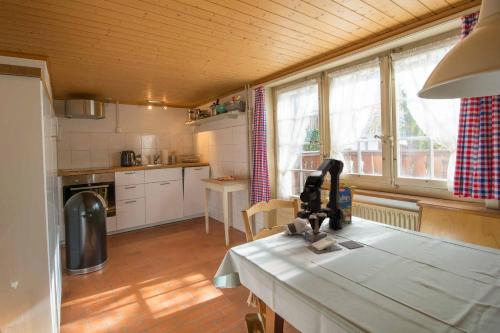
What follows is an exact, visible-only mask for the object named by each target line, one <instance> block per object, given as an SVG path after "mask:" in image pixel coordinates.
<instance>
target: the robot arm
mask: <svg viewBox="0 0 500 333" xmlns="http://www.w3.org/2000/svg"><path fill="white" fill-rule="evenodd" d="M344 166H345V165H344V162H343V161H342V159H341V160H340V159H335V158H333V157H332V158H331V157H326V158H324V159H323V162H322V163H320V165H319V167H318V168H317V169H316V170H315V171H314V172H312V173H310V174H309V175H308V176H307V177H306V180H305V184H304V186H303V189H302V190H303V191H301V192H300V194H299V200H300V201H301V203H300V209H301V210H299V211H297V213H296V217H297V218H301V219H306V220H308V223H309V225H310V227H311V228H312V230H314V228H315V218H318V221H319V230H321V227H322V225H323V223H324V221H325V220H326V219H328V226H327V228H328V229H330V230H333V231H339V230H344V227H343V226H342V225H343V224H342V219H344V213H343V211H342V208H341V204H340V203H339V183H340V177H341V175H342V173H343V170H344ZM327 173H329V175H330V181H329V182H330V186H329V192H330V201H329V200H328V203H326V204H325V205H326V206H325V207H322V205H323V203H324V202H323V201H322V190H323V187H322V186H323V185H324V181H325V178H324V177H325V176H326V175H327ZM314 216H315V217H314Z"/></svg>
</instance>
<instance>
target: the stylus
mask: <svg viewBox="0 0 500 333" xmlns="http://www.w3.org/2000/svg"><path fill="white" fill-rule="evenodd" d="M314 218H315V228H314V230H313V233H314V234H317V233H319V230H320V229H319V221H318V218H317V217H314Z"/></svg>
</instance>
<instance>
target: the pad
mask: <svg viewBox="0 0 500 333" xmlns="http://www.w3.org/2000/svg"><path fill="white" fill-rule="evenodd" d="M338 244H339V245H341V246H342V247H345V248H347V249H348V250H353V249H358V248H359V249H360V248H363V247H365V245H363V244H361V243H359V242H357V241H355V240H346V241H340V242H338Z"/></svg>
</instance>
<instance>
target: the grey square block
mask: <svg viewBox="0 0 500 333" xmlns="http://www.w3.org/2000/svg"><path fill="white" fill-rule="evenodd" d="M327 236H328V233H327V232H324V231H323V230H321V229H319V233H317V234H314V233H313V230H308V231H305V233H304V239H305V240H307V241H308V242H310V243H311V244H313V243H315V242H317V241H319V240H321V239H323V238H325V237H327Z"/></svg>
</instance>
